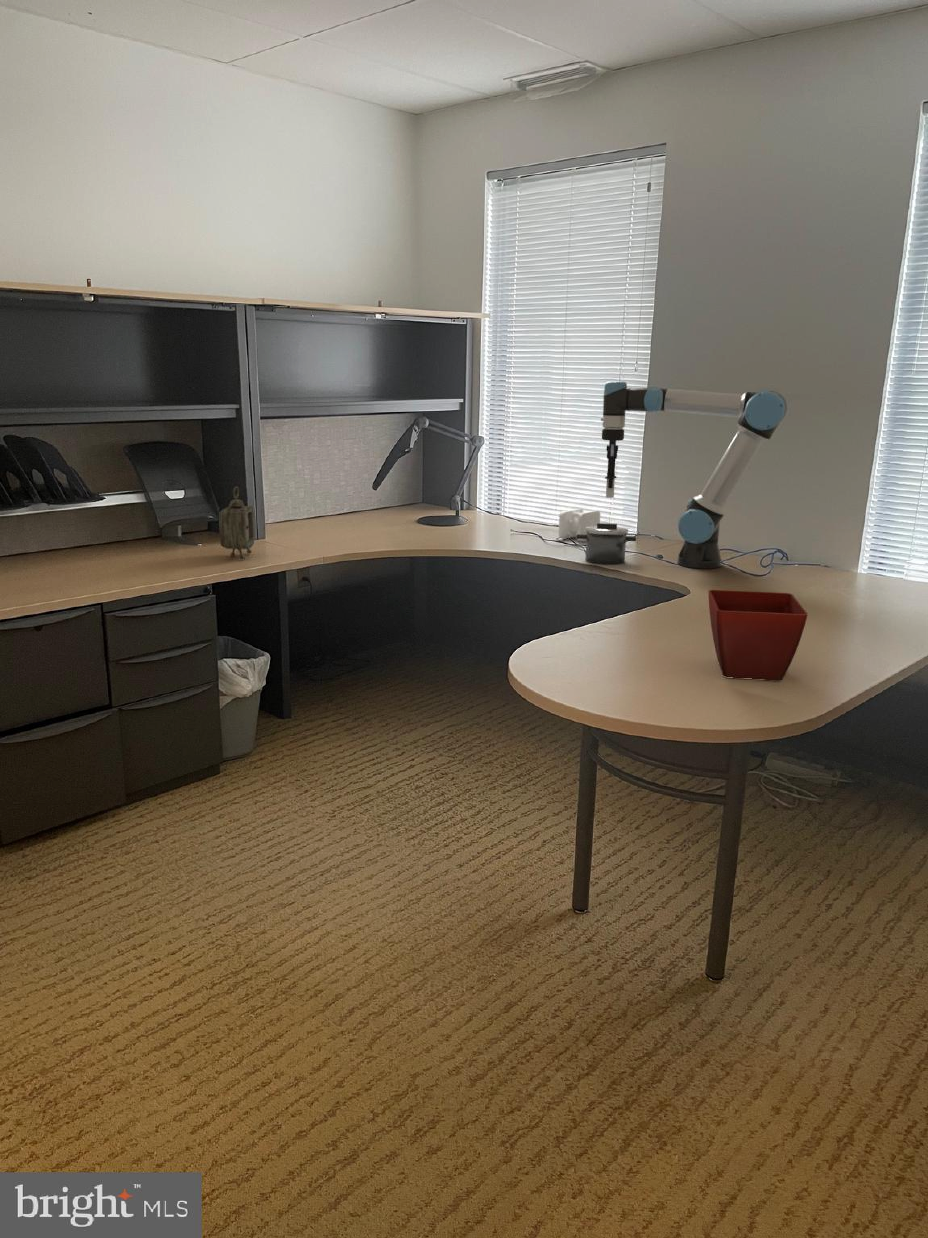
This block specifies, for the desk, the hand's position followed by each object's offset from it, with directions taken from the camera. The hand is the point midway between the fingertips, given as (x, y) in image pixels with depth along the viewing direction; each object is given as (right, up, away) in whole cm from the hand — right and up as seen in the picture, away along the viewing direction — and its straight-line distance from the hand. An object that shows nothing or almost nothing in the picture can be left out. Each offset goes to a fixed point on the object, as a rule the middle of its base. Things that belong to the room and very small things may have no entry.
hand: (609, 497), depth 313 cm
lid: (0, -11, +8) cm, 14 cm away
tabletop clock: (-131, -21, +6) cm, 133 cm away
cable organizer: (-4, -10, +52) cm, 53 cm away
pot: (0, -21, +11) cm, 24 cm away
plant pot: (+15, -55, -106) cm, 120 cm away
